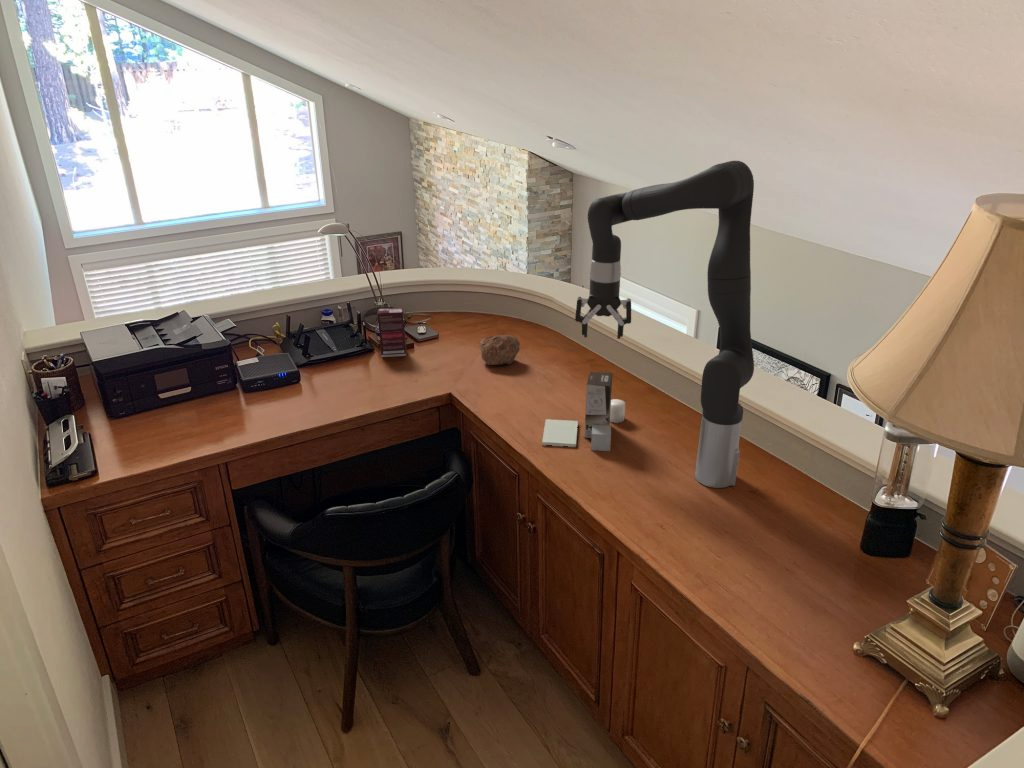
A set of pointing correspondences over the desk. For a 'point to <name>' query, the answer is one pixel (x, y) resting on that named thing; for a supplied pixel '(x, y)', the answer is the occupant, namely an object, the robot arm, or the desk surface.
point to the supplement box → (392, 332)
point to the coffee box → (598, 401)
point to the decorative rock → (499, 349)
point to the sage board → (560, 433)
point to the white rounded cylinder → (617, 411)
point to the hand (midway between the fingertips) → (602, 337)
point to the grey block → (601, 437)
